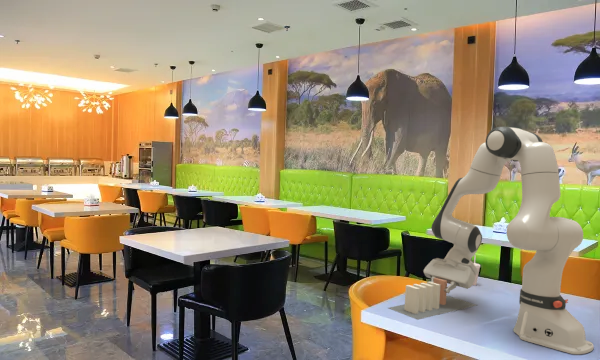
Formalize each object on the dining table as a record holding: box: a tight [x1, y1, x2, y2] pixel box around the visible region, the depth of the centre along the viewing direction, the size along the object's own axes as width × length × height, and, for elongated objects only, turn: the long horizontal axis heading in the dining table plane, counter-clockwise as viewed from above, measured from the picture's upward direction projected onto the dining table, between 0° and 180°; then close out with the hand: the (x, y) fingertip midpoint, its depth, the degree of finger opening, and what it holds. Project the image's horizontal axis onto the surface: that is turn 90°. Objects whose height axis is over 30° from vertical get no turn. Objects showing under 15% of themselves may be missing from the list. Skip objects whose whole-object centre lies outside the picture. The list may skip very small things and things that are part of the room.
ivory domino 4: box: [426, 281, 441, 309], centre depth 169 cm, size 2×5×9 cm, turn 36°
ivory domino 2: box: [412, 283, 427, 312], centre depth 165 cm, size 2×5×9 cm, turn 36°
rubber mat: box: [388, 295, 478, 321], centre depth 170 cm, size 14×36×1 cm, turn 126°
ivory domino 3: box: [419, 282, 434, 311], centre depth 167 cm, size 2×5×9 cm, turn 36°
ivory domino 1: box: [404, 284, 420, 314], centre depth 162 cm, size 2×5×9 cm, turn 36°
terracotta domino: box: [434, 278, 448, 305], centre depth 172 cm, size 2×5×9 cm, turn 36°
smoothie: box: [472, 254, 481, 286], centre depth 210 cm, size 6×6×14 cm
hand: (438, 289), depth 171 cm, fingers closed on terracotta domino, 5 cm apart
